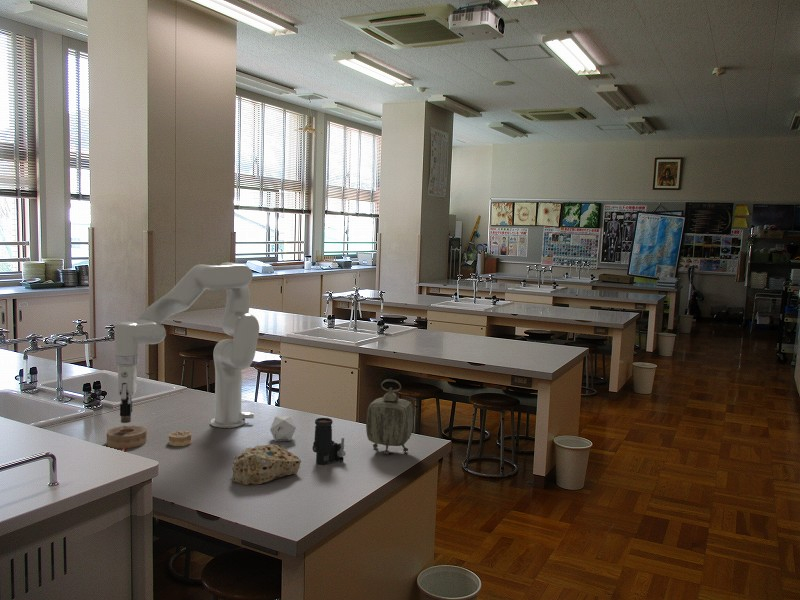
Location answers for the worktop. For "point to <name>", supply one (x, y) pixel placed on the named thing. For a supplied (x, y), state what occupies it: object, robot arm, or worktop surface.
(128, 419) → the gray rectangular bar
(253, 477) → the rock
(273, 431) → the die
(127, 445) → the bead
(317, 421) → the scope
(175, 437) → the beige short cylinder
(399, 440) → the tabletop clock
